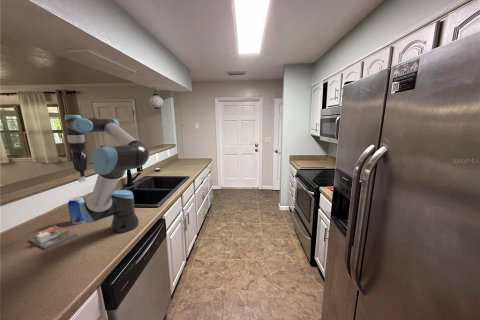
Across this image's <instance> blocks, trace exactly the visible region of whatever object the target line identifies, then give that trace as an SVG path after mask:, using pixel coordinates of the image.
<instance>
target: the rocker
mask: <svg viewBox="0 0 480 320" xmlns="http://www.w3.org/2000/svg"><path fill="white" fill-rule="evenodd" d="M56 230H59V227H58V226H56V225H52V226H50V227H48V228H46V229H44V230H41V231H39V232H36V236H37V235H39V234H42V233H44V232H48V233H52V232H54V231H56Z"/></svg>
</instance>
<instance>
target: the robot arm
mask: <svg viewBox="0 0 480 320" xmlns="http://www.w3.org/2000/svg"><path fill="white" fill-rule="evenodd" d="M64 123H65V130H66V139H67V142H68V143H67V144H68V150H71V152H72V153H70V154H69V156H70V158H71V160H72V161H71V162H72V165H73V167H74V170H75V171H76V172H77V176H78V177H77V178H78V182H79V183H85V182H86V175H85V174H86V173H85V171H87V168H88V166H87V164H88V163H87V161H88V159H87V158H88V154H85V151H84V150H85V149H86V146H87V145H86V143H85V141H86V140H85V139H86V138H85V134H86V133H105V134H107V136H108V137H109V138H110V139H112V140H113V141H114V142H115V143H116V144H117V145H115V146H113V145H111V146H109V145H108V146H107V145H106V146H102V147H99V148H97V149H95V150H94V151H93V153H92V158H91V160H92V162H91V163H92V168H93V170H94V172H95V173H96V174H97V177H96V181H95V184H94V188H93V189H92V194H91V195H89V196H88V197H87V199H86V201H85V202H83V203H81V204H80V211H81V214H82V217H83V219H84V220H85V222H84V223H86V224H91V223H96V222H98V221H100V220H103V219H106V218H109V217H112V220H111V223H110V230H111V232H113V233H117V234H118V233H119V234H120V233H125V232H130V231H132V230H134V229H136V228H137V227H138V226H139V225H140V222H139V221H140V220H139V219H138V216H137V214H136V211H135V200H134V199H135V198H134V193H133V192H132V191H131V190H129V189H117V190H115V189H116V186H117V184H118V181H119V179H121V178H122V177H124V175H125V173H126V171H129V170H135V169H139V168H141V167H143V166H144V165H145V164H146V163H147V162H148V160H149V158H150V151H149V148H148V146H147V145H146V144H145V143H144V142H143V141H141V140H139V139H135V138H134V137H133V136H132V135H130V134H129V132H127V131H125V130H124V129H123V128H121V126H120V122H119V121H118V120H117V119H113V118H86V117H82V116H81V115H80V114H66V115H64Z"/></svg>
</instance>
